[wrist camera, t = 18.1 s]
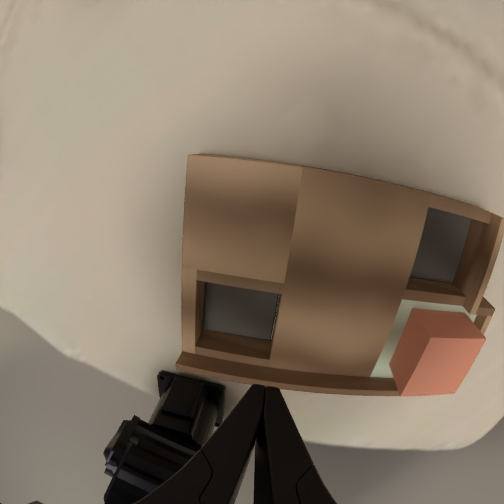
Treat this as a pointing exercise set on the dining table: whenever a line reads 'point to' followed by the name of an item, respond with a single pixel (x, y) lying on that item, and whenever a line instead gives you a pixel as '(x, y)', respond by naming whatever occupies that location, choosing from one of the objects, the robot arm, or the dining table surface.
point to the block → (435, 352)
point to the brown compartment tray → (319, 272)
